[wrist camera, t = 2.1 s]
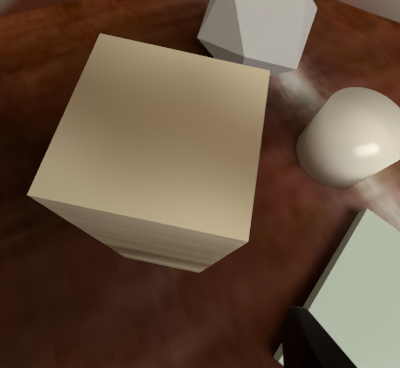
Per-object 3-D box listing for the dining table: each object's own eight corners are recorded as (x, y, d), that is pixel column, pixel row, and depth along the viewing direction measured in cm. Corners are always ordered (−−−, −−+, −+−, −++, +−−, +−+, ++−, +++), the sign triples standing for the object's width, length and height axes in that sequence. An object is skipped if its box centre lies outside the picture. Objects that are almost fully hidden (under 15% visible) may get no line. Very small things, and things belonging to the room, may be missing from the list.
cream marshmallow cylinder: (346, 204, 21) (389, 183, 17) (282, 157, 22) (307, 126, 18) (379, 151, 23) (424, 121, 19) (318, 110, 24) (349, 73, 20)
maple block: (199, 272, 18) (248, 241, 6) (125, 257, 18) (27, 195, 6) (212, 202, 20) (269, 70, 8) (144, 187, 20) (100, 33, 8)
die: (299, 102, 25) (359, -28, 20) (240, 103, 19) (304, -80, 14) (234, 72, 29) (269, -41, 24) (170, 65, 23) (199, -85, 18)
